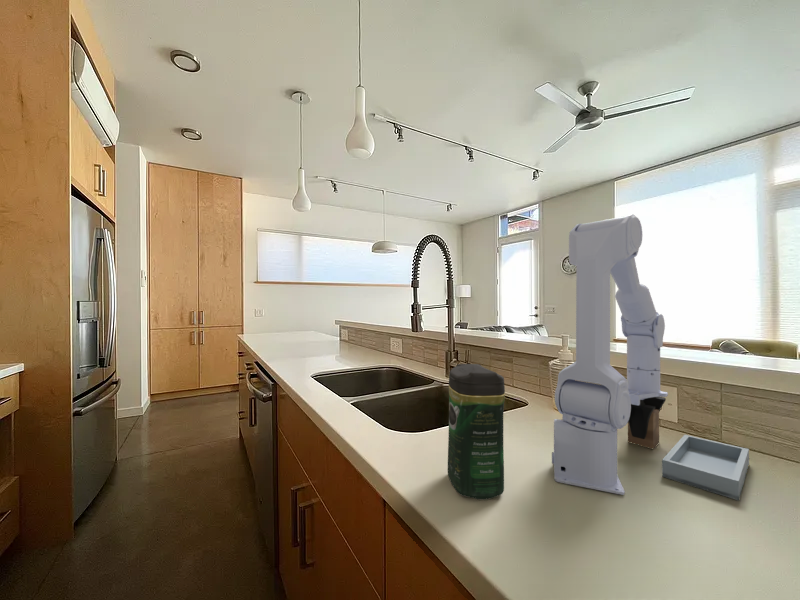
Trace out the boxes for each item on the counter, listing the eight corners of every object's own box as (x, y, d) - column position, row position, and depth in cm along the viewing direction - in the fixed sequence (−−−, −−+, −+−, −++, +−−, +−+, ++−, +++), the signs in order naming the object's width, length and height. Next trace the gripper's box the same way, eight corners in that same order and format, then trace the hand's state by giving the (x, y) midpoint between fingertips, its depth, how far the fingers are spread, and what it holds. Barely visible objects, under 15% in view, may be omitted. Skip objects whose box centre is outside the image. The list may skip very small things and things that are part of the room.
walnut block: (653, 449, 67) (653, 413, 67) (627, 442, 71) (627, 408, 71) (659, 443, 70) (659, 409, 70) (634, 437, 73) (634, 405, 74)
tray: (738, 500, 49) (738, 481, 49) (662, 476, 56) (662, 459, 56) (749, 464, 61) (748, 449, 61) (684, 448, 68) (684, 434, 68)
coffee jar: (512, 501, 48) (513, 371, 48) (458, 503, 47) (459, 371, 48) (488, 469, 58) (489, 360, 58) (442, 470, 57) (444, 360, 57)
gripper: (657, 375, 63) (658, 448, 63) (675, 367, 72) (675, 431, 72) (614, 369, 68) (615, 437, 68) (636, 363, 78) (636, 422, 77)
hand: (643, 433), depth 70 cm, fingers open, 6 cm apart
